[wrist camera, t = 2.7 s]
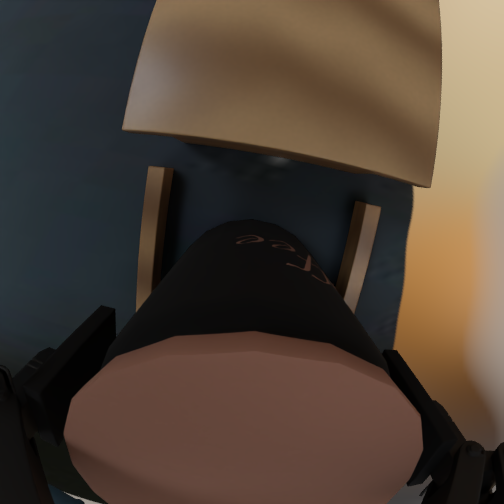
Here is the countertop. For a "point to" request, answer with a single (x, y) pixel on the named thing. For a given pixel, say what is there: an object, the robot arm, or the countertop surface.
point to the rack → (291, 98)
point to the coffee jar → (244, 388)
